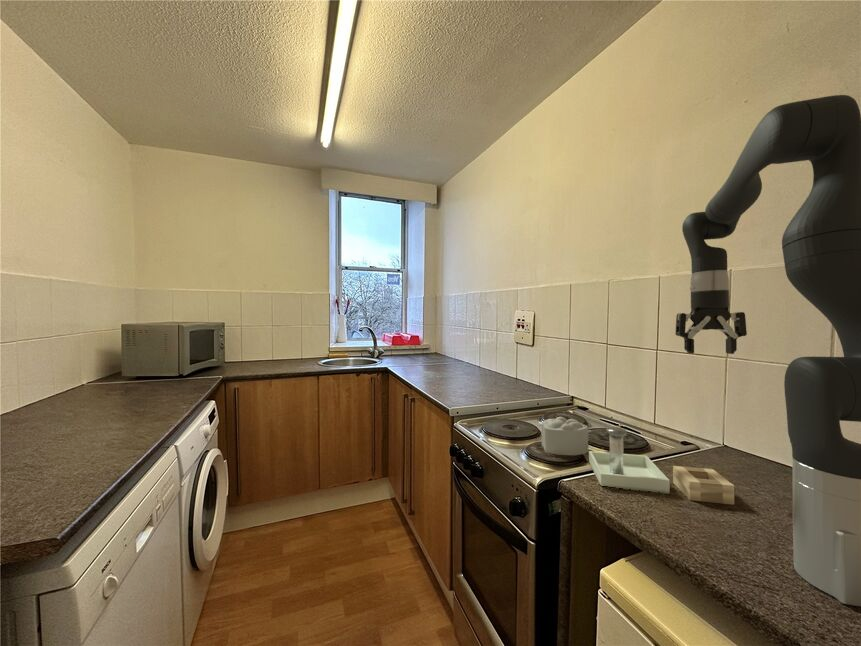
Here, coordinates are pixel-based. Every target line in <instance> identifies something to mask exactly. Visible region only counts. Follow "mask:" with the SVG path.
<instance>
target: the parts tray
mask: <svg viewBox="0 0 861 646" xmlns="http://www.w3.org/2000/svg"><path fill="white" fill-rule="evenodd" d="M588 463H589V465H590V467H591V469H592V471H593V474H594V475H595V477H596V479H597V481H598V483H600V484H599V485H601V486H609V487H616V488H615V489H619V488H623V489H622V490H629V489H631V491H639V490H640V492H642V491H643V492H648V491H651V492H650V493H658V492H660V493H661V494H668V495H669V494H670V489H671V488H670V479H669V478H668V477H667V476H666V475H665V474H664V473H663V471H662V470H660V468H658V466H657V465H656V464H655V463H654V462H653V461H652V460H651V459H650V458H649V456H648V455H644V454H643V455H642V454H628V453H623V464H624V475H619V474H611V473H610V452H605V451H591V450H588ZM601 486H600V487H601ZM609 487H608V488H609Z"/></svg>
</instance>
